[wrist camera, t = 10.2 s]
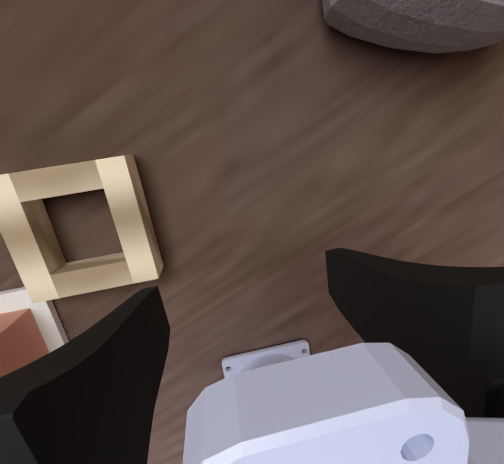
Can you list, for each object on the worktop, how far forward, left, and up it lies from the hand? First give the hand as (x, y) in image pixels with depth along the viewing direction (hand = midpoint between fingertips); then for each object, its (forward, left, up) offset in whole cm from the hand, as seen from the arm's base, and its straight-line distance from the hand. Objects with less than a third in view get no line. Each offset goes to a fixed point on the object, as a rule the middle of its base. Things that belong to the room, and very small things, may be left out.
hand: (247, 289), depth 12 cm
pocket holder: (+2, +10, -10) cm, 15 cm away
